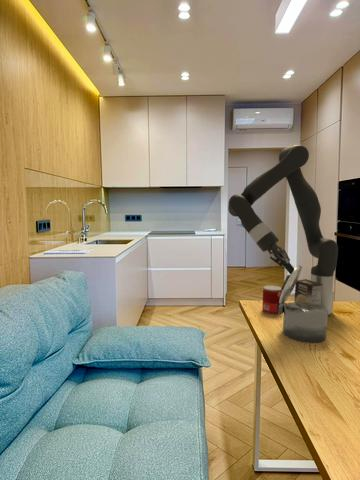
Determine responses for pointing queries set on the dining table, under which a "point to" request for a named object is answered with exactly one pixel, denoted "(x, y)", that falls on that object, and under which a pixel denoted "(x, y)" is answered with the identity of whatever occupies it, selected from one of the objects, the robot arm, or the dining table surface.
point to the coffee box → (308, 292)
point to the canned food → (271, 299)
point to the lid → (289, 284)
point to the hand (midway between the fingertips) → (293, 272)
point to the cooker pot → (304, 321)
